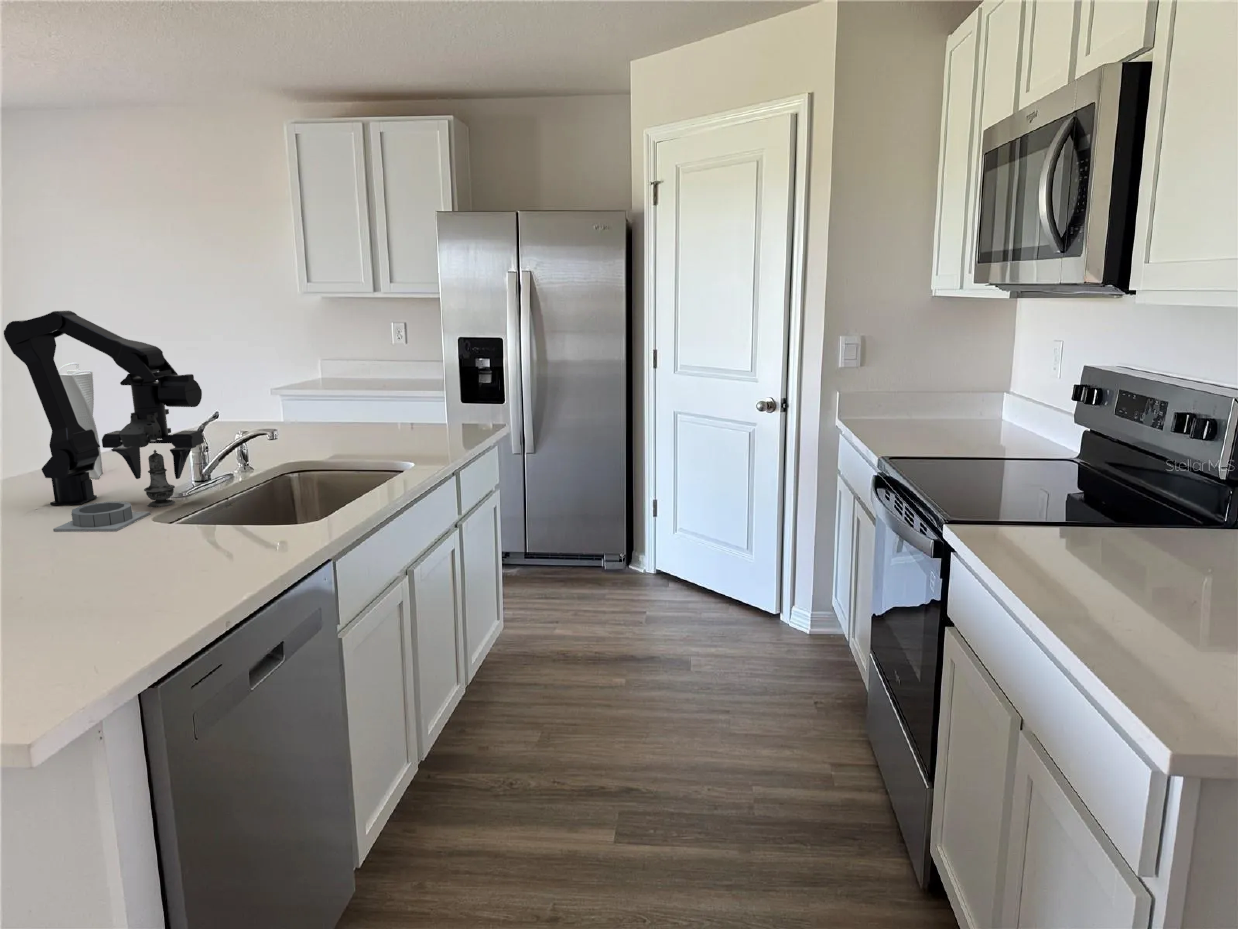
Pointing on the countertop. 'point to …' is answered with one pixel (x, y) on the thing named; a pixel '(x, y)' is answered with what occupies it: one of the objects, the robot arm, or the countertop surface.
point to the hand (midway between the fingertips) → (158, 478)
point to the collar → (102, 517)
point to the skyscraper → (82, 405)
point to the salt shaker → (158, 483)
